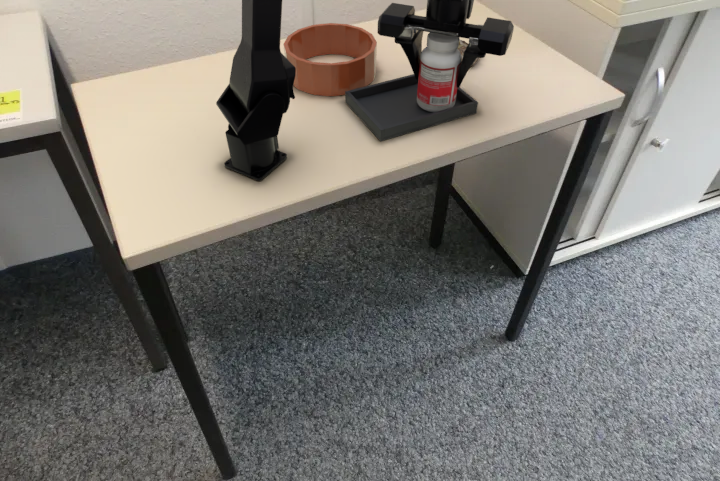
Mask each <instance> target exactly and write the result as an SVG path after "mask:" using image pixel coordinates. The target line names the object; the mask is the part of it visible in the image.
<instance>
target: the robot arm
mask: <svg viewBox="0 0 720 481" xmlns="http://www.w3.org/2000/svg"><path fill="white" fill-rule="evenodd" d="M474 2H475V0H426V10H425V16H422V15H417V14H416V8H415V6H414V5H409V4H405V3H404V4H403V3H398V2H397V3H396V2H391V3H390V4H389V5H388V6H387V7H386V8H385V10H384V11H383V12H382V13H381V14H380V15H379V16H378V20H377V34H378V35H379V36H382V37H387V38H394V43H395V44H399V45H400V47H401V49H402V51H403V53H404V54H405V56H406V58H407V60H408V63H409V65H410V68H411V70H412V72H413V74H414V75H415V78H416V80H418V79H419V67H420V57H421V52H422V51H423V48H422V47H423V46H422V45H423V44H422V43H423V35H424V33H425V32H427V33H430V32H431V33H437V34H443V35H449V36H455V37H459V38H462V39H468V46H467V48H466V49H465V51H464V55H463V59H462V63H461V67H460V71H459V75H458V79H457V88H459V87H460V88H461V85H462V83H463V81H464V79H465V77H466V75H467V73H468V71H469V70H470V68H471V67H472V66H473V65H472V64H473V62H474V61H475V60H476V58H478V59H484V58H485V57H486V55H494V56H497V57H501V56H506V53H507V51H508V49H509V46H510V44H511V42H512V38H513V34H514V28H515V25H514V24H513V22H512V20H507V19H501V18H494V17H488V16H487V17H486V18H485V21H484V23H483V24H474V23H468V22H467V20H469V19H470V17H471V16H472V12H473V8H474ZM282 12H283V0H241V39H240V43H239V45H238V47H237V49H236V51H235V52H234V55H233V58H232V64H231V70H230V75H229V83H228V85H227V86H226V87H225V89H224V90H223V92H222V93H221V94H220V96H219V98H218V99H217V101H215V102H216V103H215V104H216V106H217V108H218V109H219V111H220V112H221V114H222V115H223V116H224V118H225V120H226V121H227V122H228V124H227V130H226V131H225V133H224V134H225V138H226V142H227V146H228V151H229V157H230V158H229V159H227V160H226V161H225V162H224V163H223V166H224V167H225V168H226V169H229V170H231V171H233V172H236V173H238V174H240V175H243V176H245V177H248V178H249V179H253V180H255V181H259V182H260V181H262V180H264V178H266V177H267V176H268V175H270V174H271V173H272V172H273V171H274V170H275V169H276V168H277V167H279V166H280V165H281V164H282V163H284V161H285V160H287V159H288V154H287V153H286V152H283V151H281V150H279V149H280V146H279V140H278V139H279V138H278V135H279V132H280V128H281V124H282V121H283V120H282V119H283V116H284V114H286V113H287V112H288V110H289V107H290V104H291V99H292V100H295V99H296V95H295V93H294V86H293V84H294V80H295V75H296V68H295V66H294V65H293V64H292V63H291V62H290V61H289V60H288V59H287V58H286V57H285V54H284V53H282V52H281V33H282V32H281V31H282V16H283V15H282V14H283V13H282ZM471 65H472V66H471Z"/></svg>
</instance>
